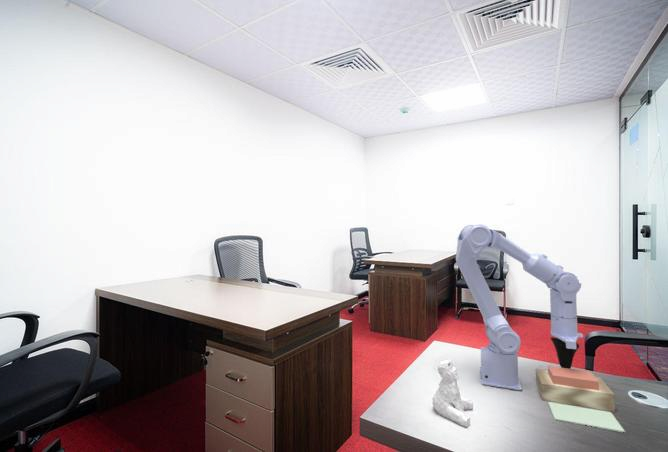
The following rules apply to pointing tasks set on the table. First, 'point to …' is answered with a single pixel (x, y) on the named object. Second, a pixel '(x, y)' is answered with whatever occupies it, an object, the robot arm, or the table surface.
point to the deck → (575, 393)
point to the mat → (585, 416)
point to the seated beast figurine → (451, 396)
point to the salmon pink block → (573, 378)
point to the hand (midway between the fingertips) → (565, 367)
